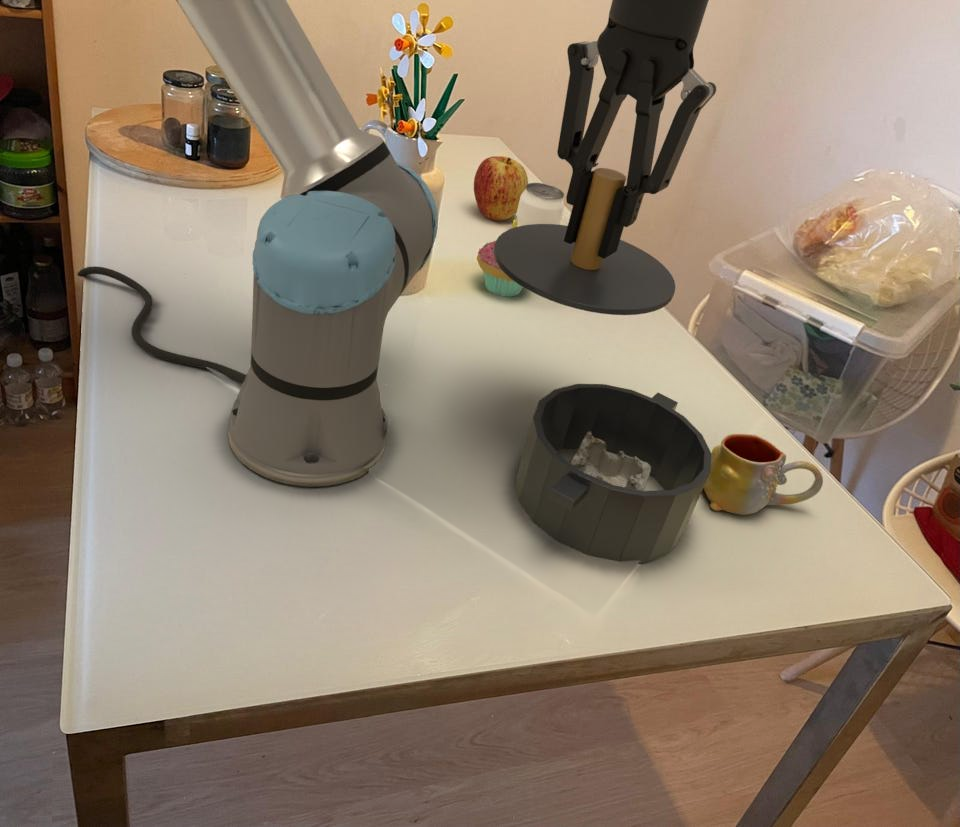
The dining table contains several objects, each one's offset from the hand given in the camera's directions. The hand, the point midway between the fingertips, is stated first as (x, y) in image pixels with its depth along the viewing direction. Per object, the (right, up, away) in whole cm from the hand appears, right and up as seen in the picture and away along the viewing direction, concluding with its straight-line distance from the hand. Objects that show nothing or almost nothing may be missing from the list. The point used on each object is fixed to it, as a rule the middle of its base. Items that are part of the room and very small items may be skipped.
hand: (590, 245), depth 81 cm
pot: (+1, -25, +3) cm, 25 cm away
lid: (0, -2, +1) cm, 2 cm away
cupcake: (-8, +1, +37) cm, 38 cm away
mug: (+18, -26, +8) cm, 32 cm away
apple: (-8, +17, +60) cm, 62 cm away
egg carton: (+1, -25, +3) cm, 25 cm away
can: (-4, +6, +45) cm, 46 cm away
